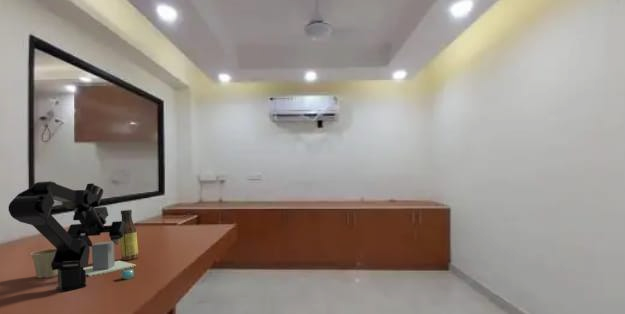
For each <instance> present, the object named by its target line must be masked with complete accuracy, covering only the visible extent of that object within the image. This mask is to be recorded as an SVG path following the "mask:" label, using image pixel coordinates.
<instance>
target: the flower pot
mask: <svg viewBox="0 0 625 314" xmlns="http://www.w3.org/2000/svg"><path fill="white" fill-rule="evenodd" d="M55 252H56V248H51V249H42V250H38V251H33V252H31V253H30V254H29V255H30V256H31V258H32V260H33V265H34V270H35V274H36V278H37V279H43V278H45V279H47V278H52V277H55V276H58V269H57V270H52V267H51V263H52V261H53V258H54V256H55Z"/></svg>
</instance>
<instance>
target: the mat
mask: <svg viewBox="0 0 625 314" xmlns="http://www.w3.org/2000/svg"><path fill="white" fill-rule="evenodd" d="M134 266H135V267H137V264H135V263H131V262H126V261H124V260H115V266H114V267H112V268H110V269H106V270H93V265H92V266H87V267H86V266H85V267H83V268H84V270H85V273H86V276H87V275H88V276H87V277H93V276H92V275H95V276H98V275H97V274H99V275H103V273H104V274H107V273H113V272H117V271H123V270H126V269H130V267H131V268H134ZM125 268H126V269H125Z"/></svg>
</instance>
